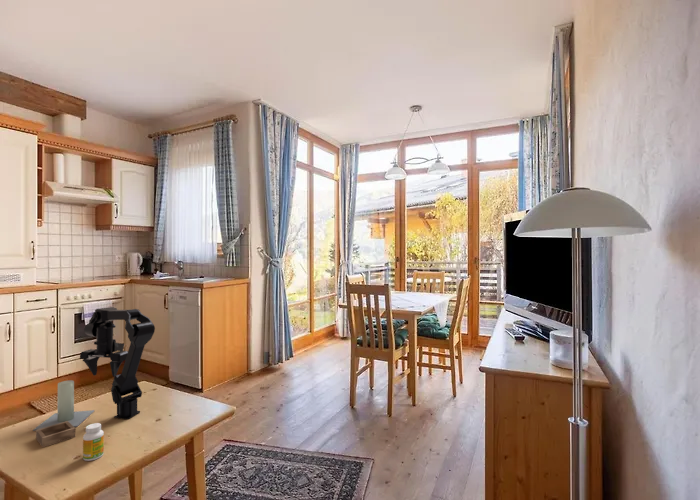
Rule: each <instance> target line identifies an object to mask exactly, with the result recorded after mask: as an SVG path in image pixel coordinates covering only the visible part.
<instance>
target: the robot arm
mask: <svg viewBox="0 0 700 500" xmlns="http://www.w3.org/2000/svg"><path fill="white" fill-rule="evenodd" d="M117 320H118V321H120V320H121V321H125V324H124V325H125V326H124V330H125V331H126V333H127V338H128V339H129V342H130V344H129V347H128V350H124V347H125V343H121V342H117V339H116V338H114V328H116V325H115V324H114V323H113V322H114V321H117ZM131 320H132V321H133V320H136V321H137V322H138V323H133V324H132V323H131ZM155 330H156V327H155V324H154V323H153V321H152V320H151V318H150V317H148V316H146V315H145V314H143V313H142V312H141V311H140V309H138V308H133V309H132V308H131V309H117V307H113V306H110V307H102V308H96V309H95V310H94V312H93V313H92V315H91V317H90V319H89V321H88V323H87V324H86V325H85V326H84V328H83V332H84V334H85V335H87V336H90V337H94V338H96V340H95V341H93V345H95V346H96V349H94V348H93V349H92V348H90V349H87V350H83V351H81V352H80V354H79V360H82V362H84V363H85V365H86V366H87V367H88V369H89V371H90V372H91V374H92V375H93V376H97V373H98V361H99V360H100V358H108V359H109V358H110V361H109V365H110V369H111V370H110V371H111V375H112V378H113V381H112V383H111V385H112V386H111V388H110V393H111V398H112V402H113V404H115V405H116V415H114V416H113V417H114V418H115V419H126V420H129V419H131V418H132V417H134V416H137V415H138V414H140V413H141V410H138V398H139V399H140V398H142V395H143V391H142V389H141V387H140V385H139V380H138V378H137V377H136V376H137V371H138V369H139V365H140V361H141V359H142V355H143V353H144V350H145V347H146V345H147V344H148V343H149V342H150V341H151V339H152V338H153V336H154V334H155ZM123 362H124V364H123V368H122V370H121V373H120V374H118V373H119V369H120V366H121V365H122V363H123Z"/></svg>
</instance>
